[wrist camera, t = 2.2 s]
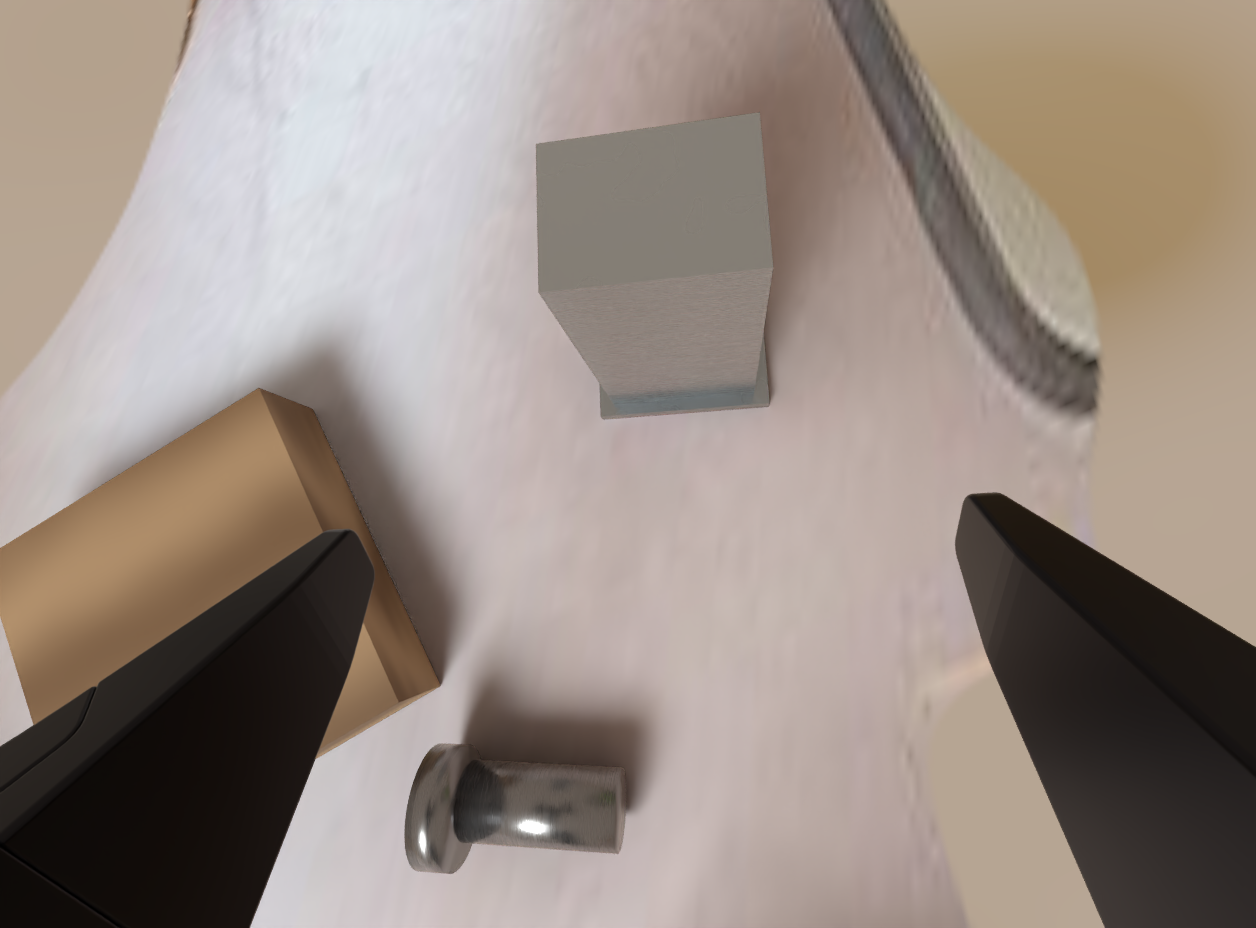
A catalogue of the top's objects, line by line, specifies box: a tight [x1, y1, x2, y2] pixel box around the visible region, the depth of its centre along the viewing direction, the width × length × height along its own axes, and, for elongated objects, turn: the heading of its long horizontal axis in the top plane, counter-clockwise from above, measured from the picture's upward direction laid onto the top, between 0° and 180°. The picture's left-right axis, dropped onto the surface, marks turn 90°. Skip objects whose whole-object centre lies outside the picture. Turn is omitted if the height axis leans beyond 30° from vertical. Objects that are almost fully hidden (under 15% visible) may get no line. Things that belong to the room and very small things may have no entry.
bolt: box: [405, 744, 626, 874], centre depth 20 cm, size 6×4×4 cm, turn 90°
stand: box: [0, 388, 441, 759], centre depth 23 cm, size 12×12×3 cm
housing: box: [536, 112, 773, 420], centre depth 19 cm, size 4×6×10 cm
